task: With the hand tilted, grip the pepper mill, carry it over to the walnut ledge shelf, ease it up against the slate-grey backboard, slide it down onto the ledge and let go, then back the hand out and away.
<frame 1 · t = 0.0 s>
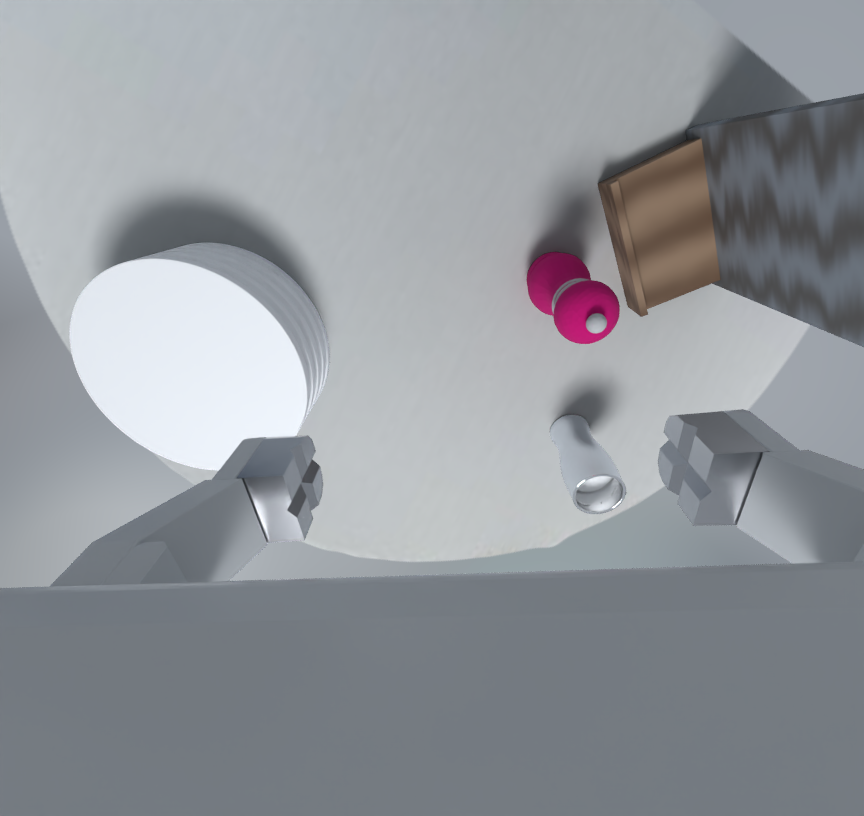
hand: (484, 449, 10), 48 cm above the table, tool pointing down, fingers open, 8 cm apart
ledge shelf: (654, 231, 51), on the table
pepper mill: (550, 276, 54), on the table
plate stack: (234, 344, 61), on the table
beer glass: (568, 430, 66), on the table
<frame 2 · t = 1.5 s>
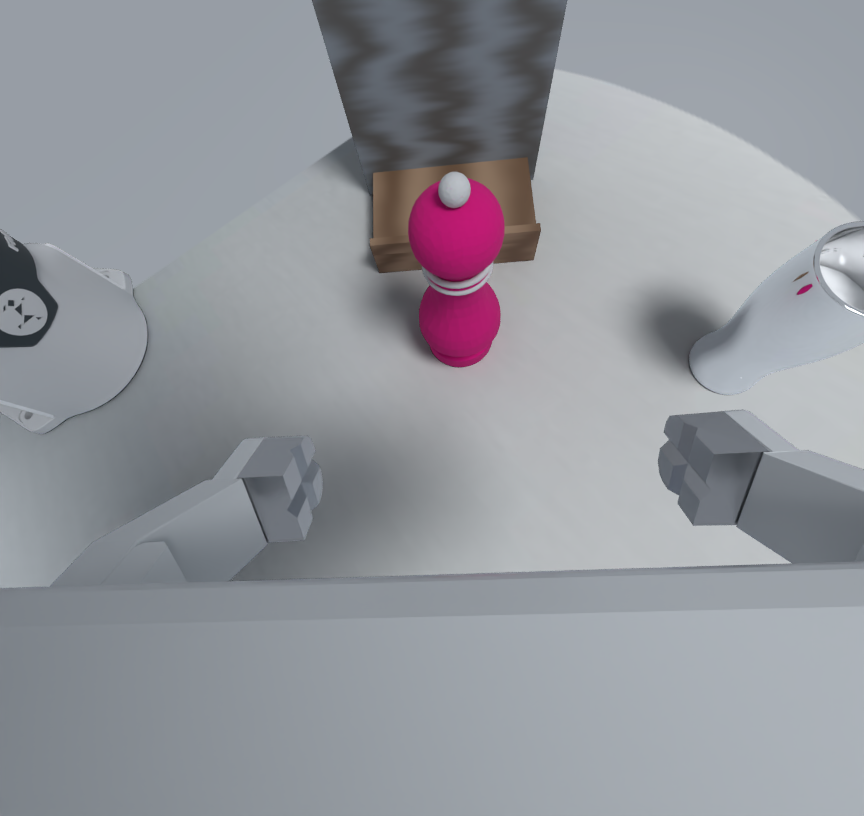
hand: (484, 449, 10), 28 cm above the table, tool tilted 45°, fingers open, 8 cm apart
ledge shelf: (452, 225, 45), on the table
pepper mill: (460, 339, 41), on the table
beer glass: (721, 364, 39), on the table
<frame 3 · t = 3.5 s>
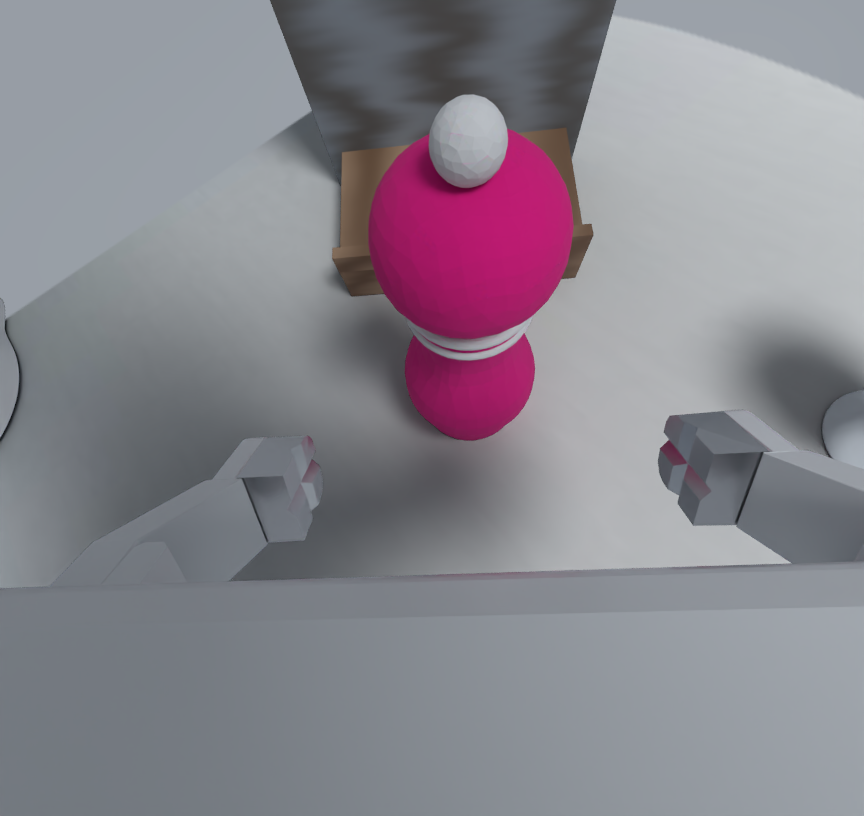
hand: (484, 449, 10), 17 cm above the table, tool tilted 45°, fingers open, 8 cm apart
ledge shelf: (457, 228, 31), on the table
pepper mill: (469, 395, 28), on the table
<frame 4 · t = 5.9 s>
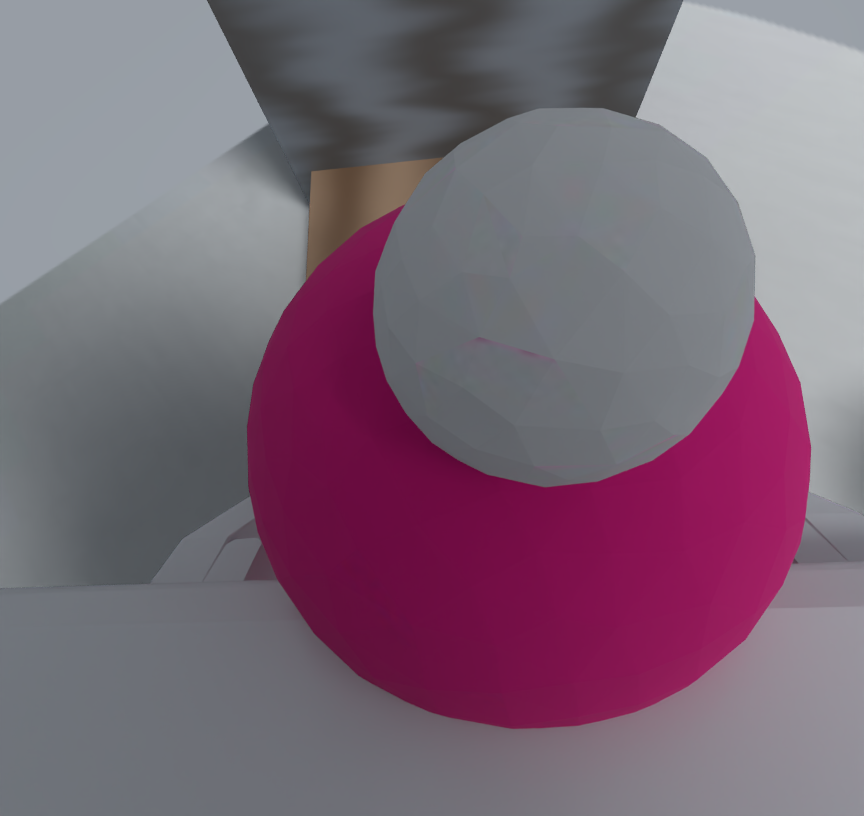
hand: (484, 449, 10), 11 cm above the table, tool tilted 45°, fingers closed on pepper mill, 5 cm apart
ledge shelf: (462, 269, 24), on the table
pepper mill: (477, 501, 21), on the table, touching gripper
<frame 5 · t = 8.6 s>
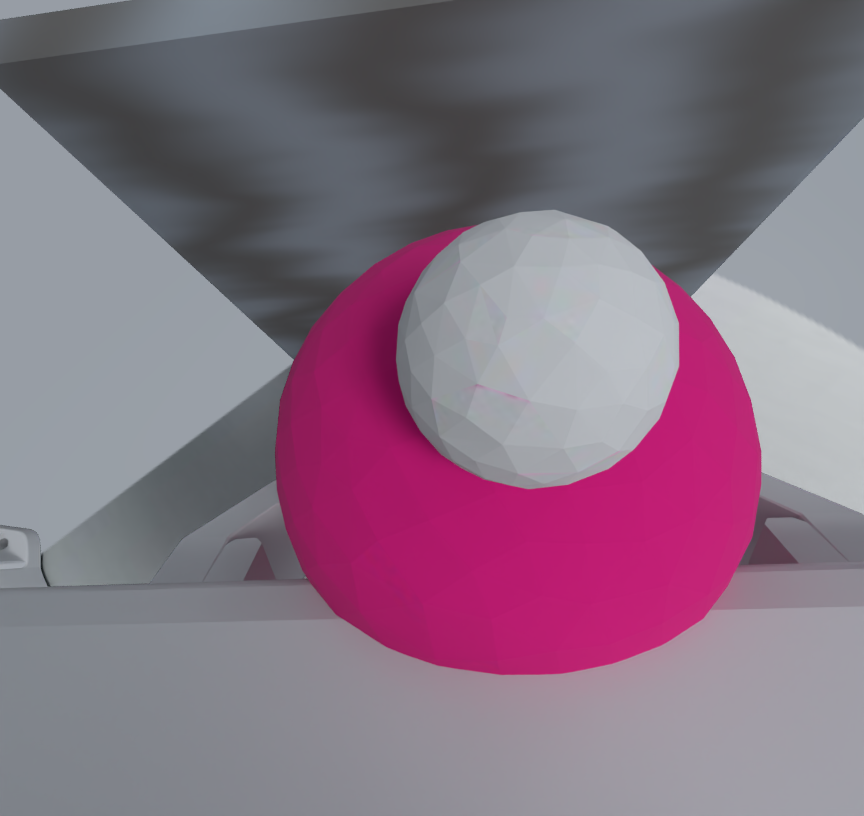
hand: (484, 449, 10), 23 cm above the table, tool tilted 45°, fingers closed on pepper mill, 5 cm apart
ledge shelf: (474, 476, 33), on the table
pepper mill: (477, 504, 21), point 11 cm above the table, touching gripper
when the fingers open (16 cm above the table, at t = 11.7 s): pepper mill stays where it is, resting on ledge shelf.
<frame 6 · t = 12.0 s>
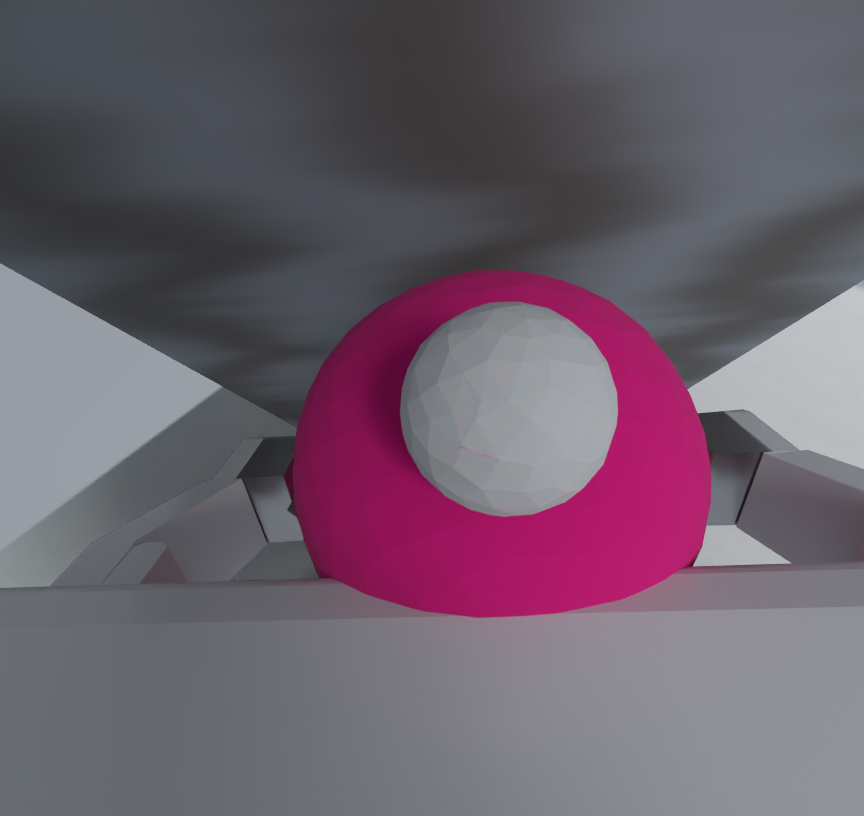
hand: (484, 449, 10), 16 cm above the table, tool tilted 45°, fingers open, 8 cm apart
ledge shelf: (477, 521, 25), on the table
pepper mill: (475, 505, 22), point 3 cm above the table, touching ledge shelf
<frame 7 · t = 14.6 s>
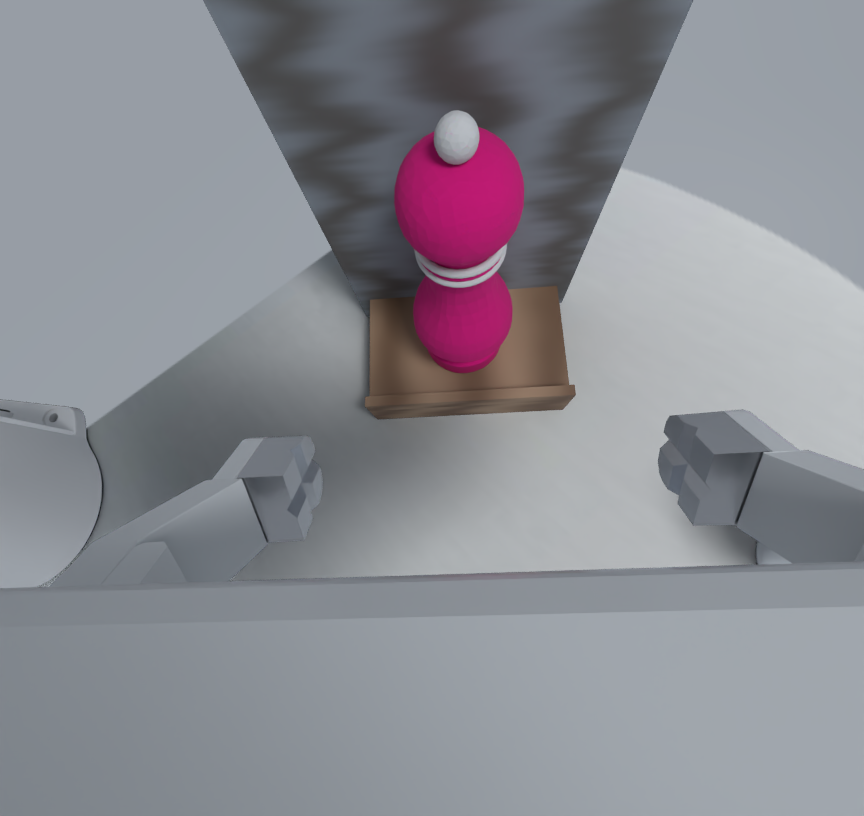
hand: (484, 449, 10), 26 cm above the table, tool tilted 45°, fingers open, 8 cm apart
ledge shelf: (465, 360, 37), on the table
pepper mill: (463, 339, 35), point 3 cm above the table, touching ledge shelf
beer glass: (796, 560, 31), on the table
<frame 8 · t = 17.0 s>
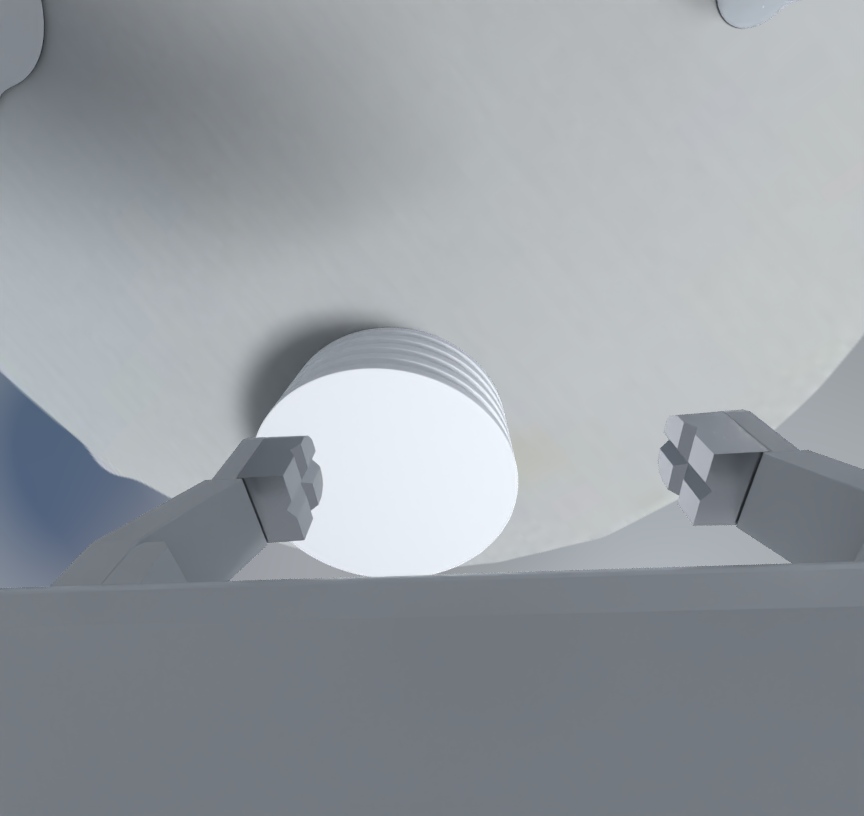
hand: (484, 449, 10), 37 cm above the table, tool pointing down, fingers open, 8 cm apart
plate stack: (396, 430, 54), on the table
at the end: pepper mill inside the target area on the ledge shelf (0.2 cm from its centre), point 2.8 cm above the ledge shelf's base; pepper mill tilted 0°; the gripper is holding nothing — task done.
